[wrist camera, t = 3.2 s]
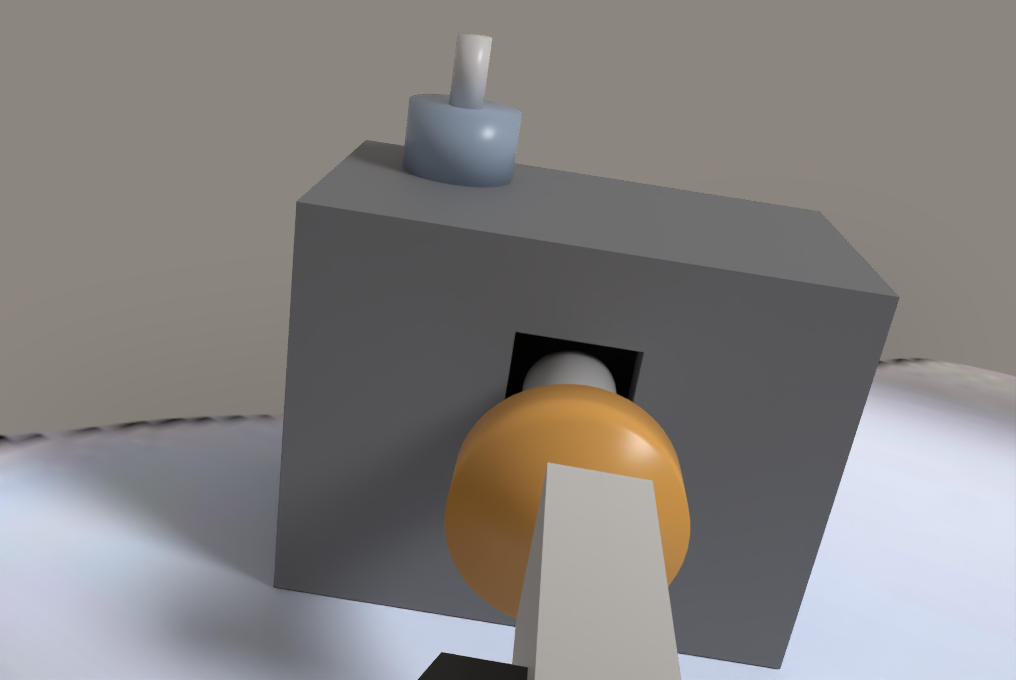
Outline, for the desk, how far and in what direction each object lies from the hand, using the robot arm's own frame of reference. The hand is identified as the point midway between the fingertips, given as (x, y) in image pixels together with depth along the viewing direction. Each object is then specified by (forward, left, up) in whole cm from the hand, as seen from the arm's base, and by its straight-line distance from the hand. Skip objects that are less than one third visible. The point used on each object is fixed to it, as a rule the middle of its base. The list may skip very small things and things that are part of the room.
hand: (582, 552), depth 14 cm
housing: (-1, -21, -14) cm, 25 cm away
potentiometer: (+4, -23, 0) cm, 23 cm away
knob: (0, -12, -8) cm, 15 cm away
